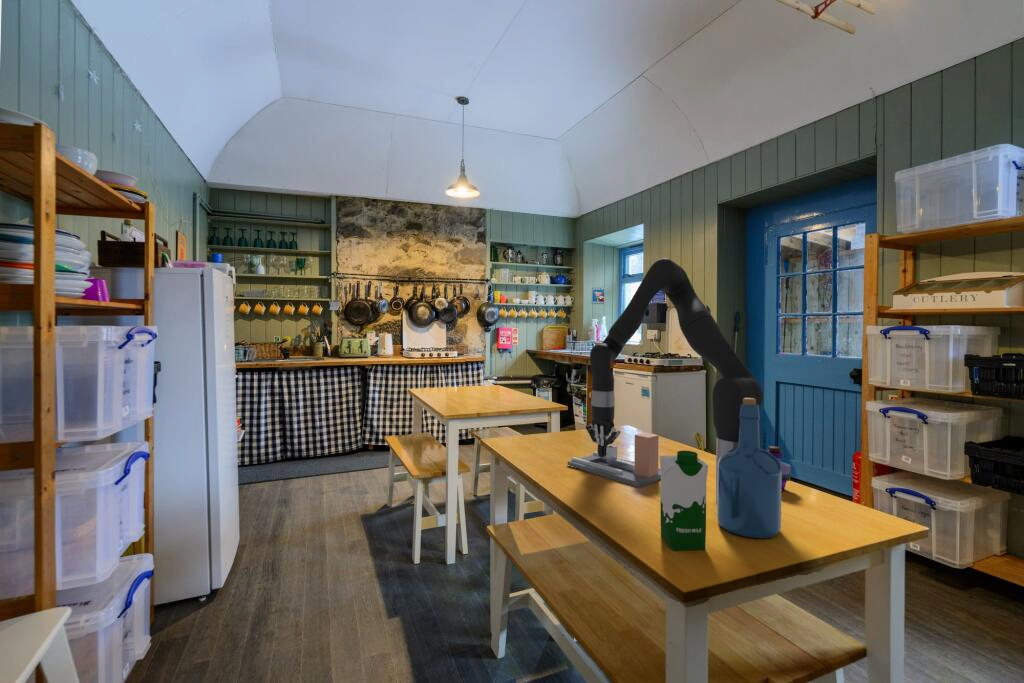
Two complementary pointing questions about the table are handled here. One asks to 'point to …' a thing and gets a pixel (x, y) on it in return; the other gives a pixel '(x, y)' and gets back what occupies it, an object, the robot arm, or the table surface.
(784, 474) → the potion bottle
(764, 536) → the wine bottle
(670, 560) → the table surface
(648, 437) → the block
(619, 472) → the track
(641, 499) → the table surface
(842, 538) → the table surface
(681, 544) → the milk carton
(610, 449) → the grey l-shaped rod
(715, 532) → the table surface
